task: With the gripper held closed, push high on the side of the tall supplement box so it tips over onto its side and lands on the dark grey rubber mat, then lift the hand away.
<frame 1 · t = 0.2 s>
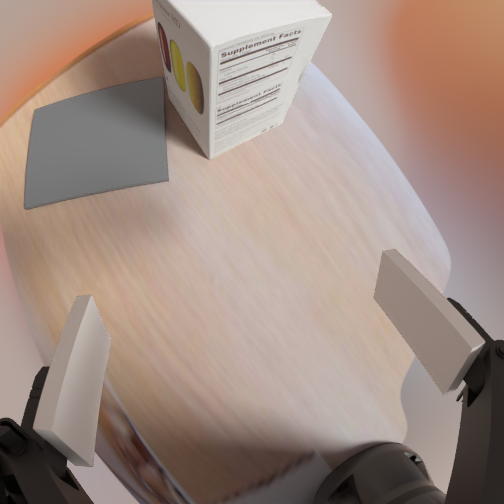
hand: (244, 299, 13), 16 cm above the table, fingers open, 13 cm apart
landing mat: (91, 139, 28), on the table
supplement box: (224, 111, 31), on the table
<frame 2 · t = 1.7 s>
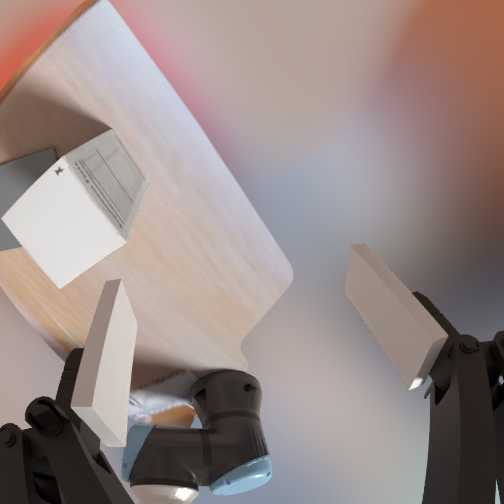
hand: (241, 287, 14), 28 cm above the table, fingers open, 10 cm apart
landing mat: (19, 203, 34), on the table
supplement box: (104, 175, 36), on the table
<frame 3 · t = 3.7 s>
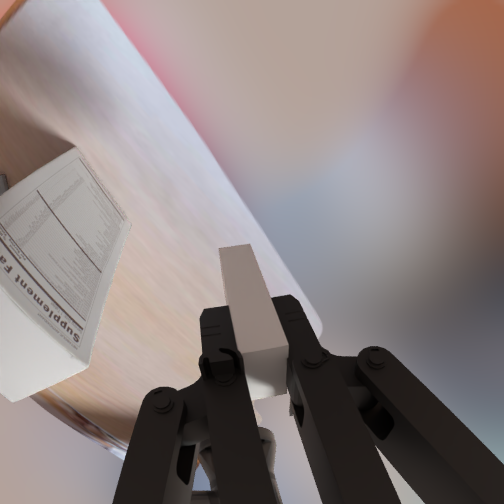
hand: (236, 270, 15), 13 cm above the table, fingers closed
supplement box: (70, 211, 25), on the table
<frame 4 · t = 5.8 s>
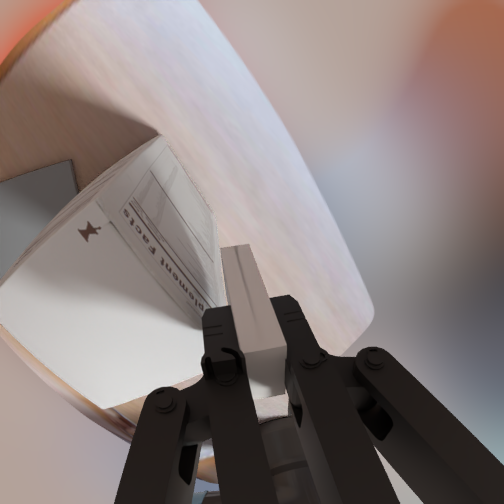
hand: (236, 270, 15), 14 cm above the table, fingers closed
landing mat: (20, 240, 25), on the table
supplement box: (149, 202, 26), on the table, touching gripper
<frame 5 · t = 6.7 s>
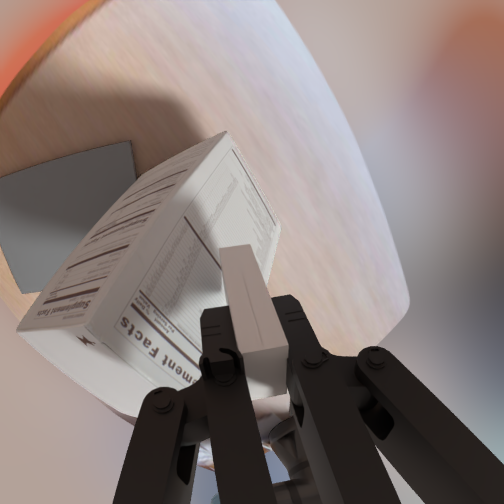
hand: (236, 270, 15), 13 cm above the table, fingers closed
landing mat: (63, 226, 25), on the table
supplement box: (210, 198, 25), point 2 cm above the table
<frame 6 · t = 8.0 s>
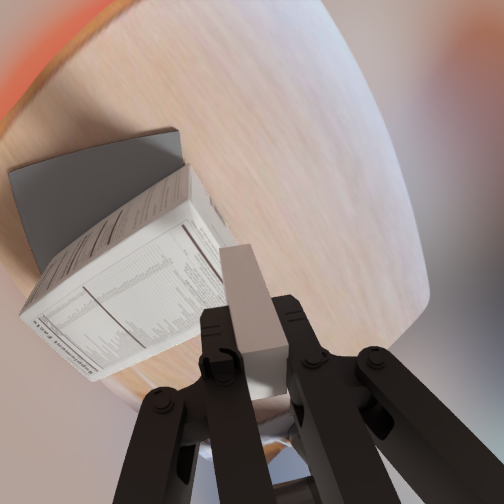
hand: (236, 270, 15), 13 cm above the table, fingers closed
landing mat: (99, 217, 26), on the table
supplement box: (224, 226, 23), point 5 cm above the table, touching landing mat
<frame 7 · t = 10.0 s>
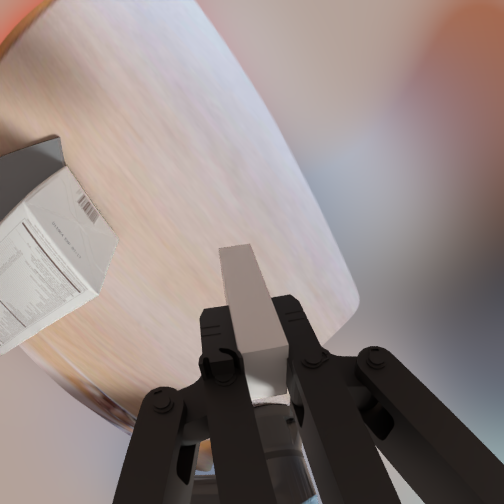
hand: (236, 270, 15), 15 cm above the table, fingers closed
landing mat: (10, 215, 25), on the table
supplement box: (81, 221, 22), point 5 cm above the table, touching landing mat
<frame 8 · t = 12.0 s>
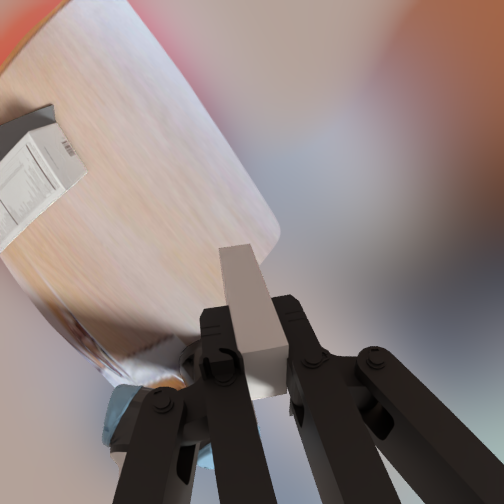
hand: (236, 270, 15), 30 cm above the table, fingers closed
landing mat: (16, 160, 35), on the table
supplement box: (62, 152, 32), point 5 cm above the table, touching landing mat
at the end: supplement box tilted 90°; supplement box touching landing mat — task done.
